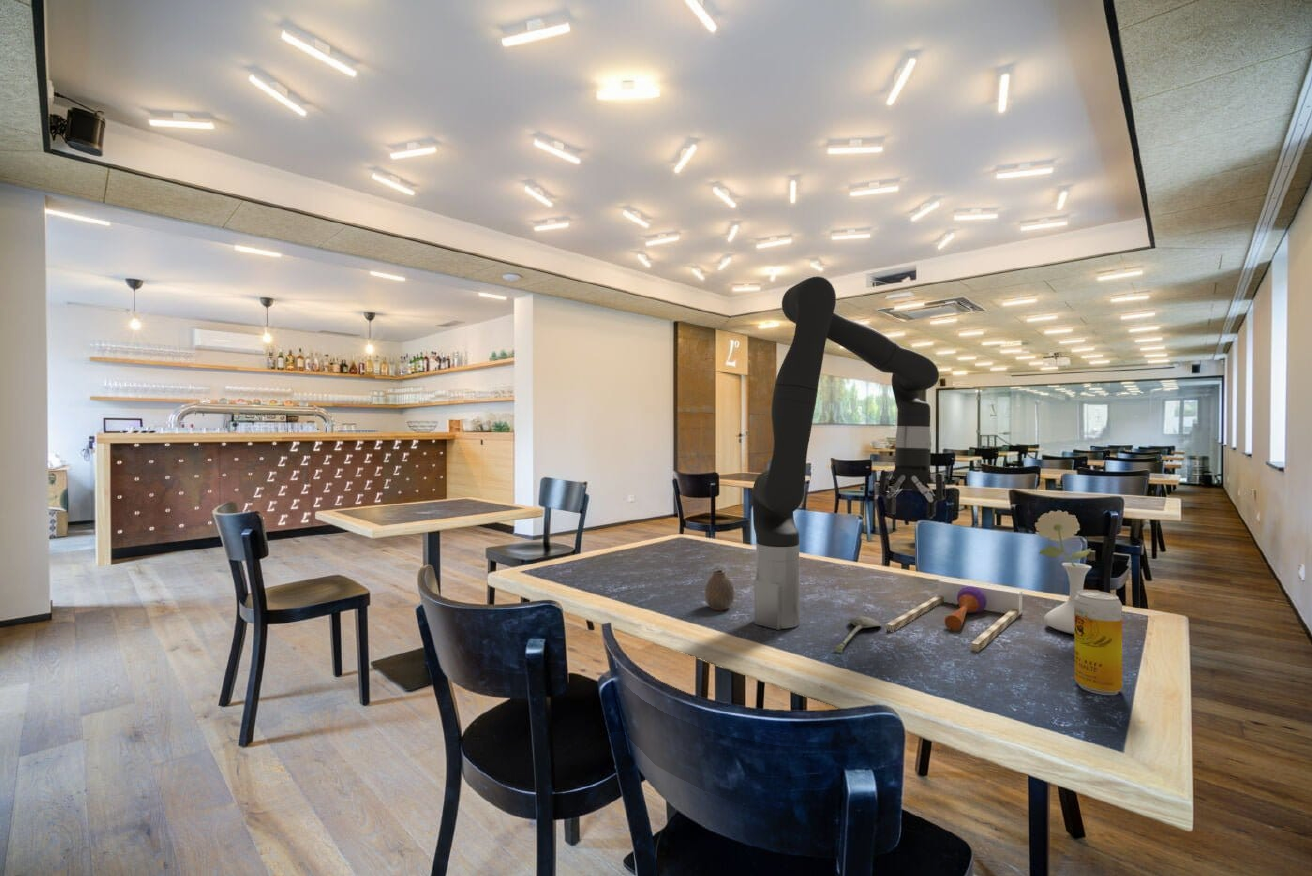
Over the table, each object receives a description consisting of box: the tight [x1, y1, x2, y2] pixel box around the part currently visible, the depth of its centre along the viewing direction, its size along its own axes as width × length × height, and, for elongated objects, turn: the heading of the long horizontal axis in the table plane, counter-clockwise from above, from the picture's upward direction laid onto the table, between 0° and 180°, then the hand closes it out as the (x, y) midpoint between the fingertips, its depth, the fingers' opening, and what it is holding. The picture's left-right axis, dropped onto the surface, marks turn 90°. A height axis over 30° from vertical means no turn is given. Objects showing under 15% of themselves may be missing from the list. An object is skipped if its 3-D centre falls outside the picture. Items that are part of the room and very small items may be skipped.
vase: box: [704, 569, 735, 611], centre depth 137 cm, size 7×7×9 cm
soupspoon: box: [833, 615, 882, 654], centre depth 117 cm, size 22×3×7 cm
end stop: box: [937, 578, 1023, 616], centre depth 137 cm, size 3×17×5 cm, turn 46°
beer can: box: [1073, 590, 1123, 696], centre depth 92 cm, size 6×6×15 cm
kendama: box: [944, 586, 986, 631], centre depth 128 cm, size 6×6×20 cm
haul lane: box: [886, 594, 1020, 653], centre depth 125 cm, size 31×17×2 cm, turn 136°
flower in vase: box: [1034, 509, 1092, 635], centre depth 120 cm, size 13×11×25 cm
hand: (910, 516), depth 133 cm, fingers open, 8 cm apart
